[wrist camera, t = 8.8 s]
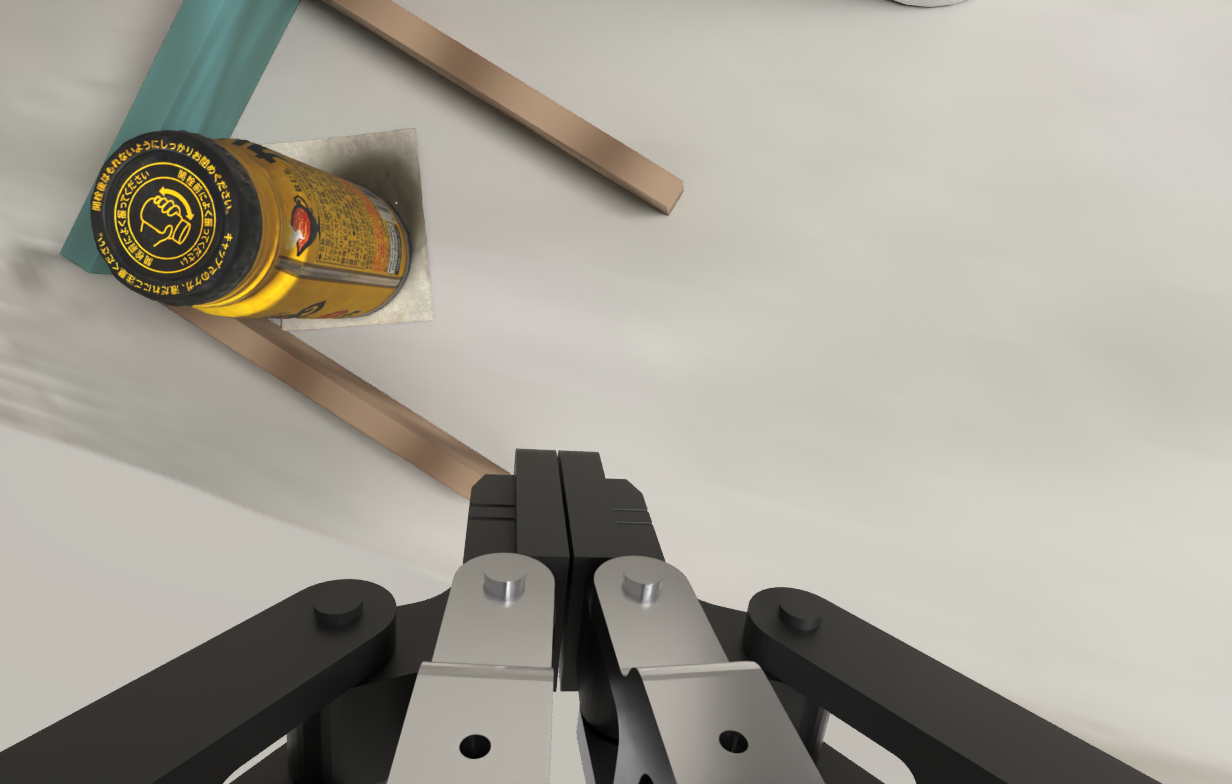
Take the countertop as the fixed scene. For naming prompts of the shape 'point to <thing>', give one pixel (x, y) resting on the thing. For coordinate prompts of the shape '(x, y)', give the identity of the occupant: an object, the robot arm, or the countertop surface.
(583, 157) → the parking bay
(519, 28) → the countertop surface
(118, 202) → the condiment
